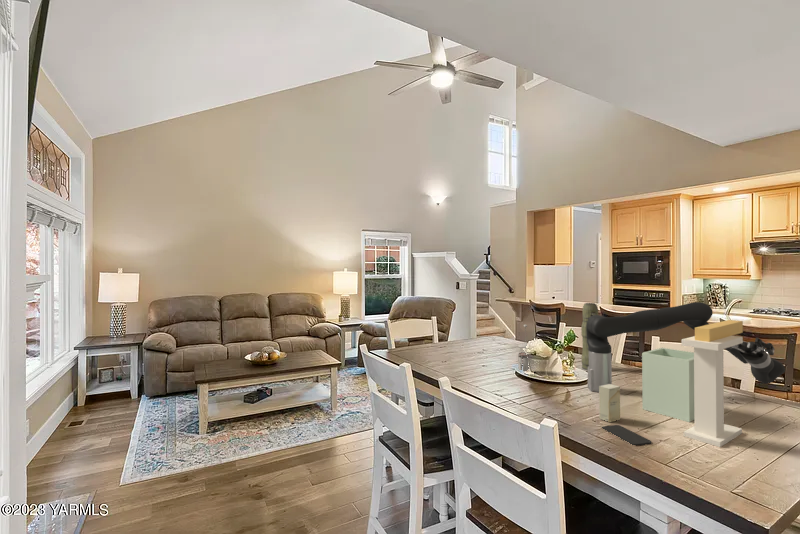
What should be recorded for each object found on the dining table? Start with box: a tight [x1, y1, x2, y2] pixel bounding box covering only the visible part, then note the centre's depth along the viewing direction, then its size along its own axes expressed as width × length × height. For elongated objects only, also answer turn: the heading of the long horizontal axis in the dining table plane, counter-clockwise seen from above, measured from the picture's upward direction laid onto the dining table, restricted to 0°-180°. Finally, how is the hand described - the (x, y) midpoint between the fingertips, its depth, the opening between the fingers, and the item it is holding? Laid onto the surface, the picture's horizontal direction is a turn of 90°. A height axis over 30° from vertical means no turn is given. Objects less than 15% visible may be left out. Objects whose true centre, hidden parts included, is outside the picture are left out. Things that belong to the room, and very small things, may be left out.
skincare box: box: [598, 384, 621, 423], centre depth 151 cm, size 6×4×12 cm
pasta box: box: [694, 319, 744, 342], centre depth 139 cm, size 28×4×4 cm, turn 123°
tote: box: [641, 347, 695, 423], centre depth 158 cm, size 16×16×22 cm
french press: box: [517, 324, 529, 371], centre depth 215 cm, size 10×12×25 cm
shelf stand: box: [681, 335, 744, 448], centre depth 136 cm, size 20×10×32 cm, turn 123°
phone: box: [601, 424, 653, 446], centre depth 137 cm, size 7×1×15 cm
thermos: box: [580, 302, 599, 371], centre depth 221 cm, size 9×12×35 cm
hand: (741, 338), depth 150 cm, fingers open, 8 cm apart
